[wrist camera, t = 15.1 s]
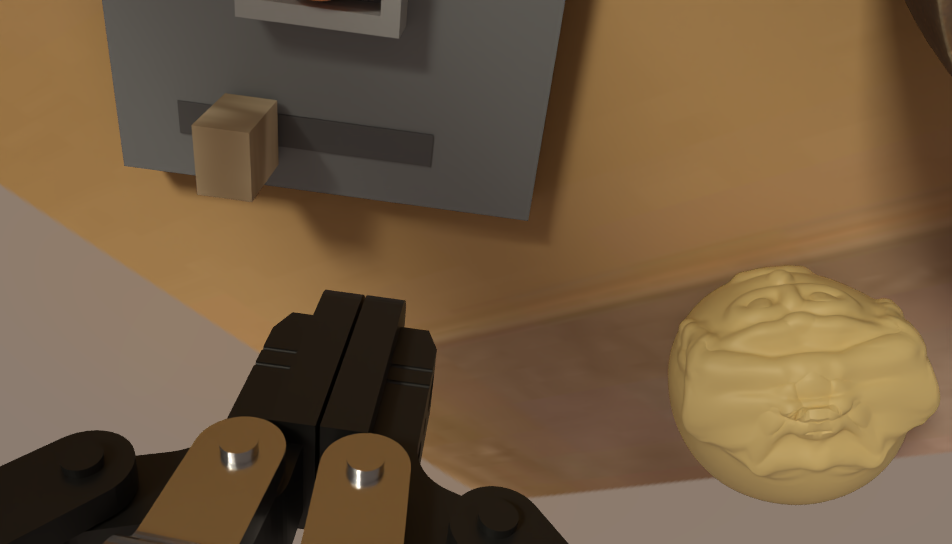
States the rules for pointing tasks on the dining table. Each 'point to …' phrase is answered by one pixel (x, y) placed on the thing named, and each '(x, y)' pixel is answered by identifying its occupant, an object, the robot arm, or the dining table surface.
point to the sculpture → (797, 385)
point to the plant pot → (935, 26)
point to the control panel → (349, 91)
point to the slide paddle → (235, 147)
